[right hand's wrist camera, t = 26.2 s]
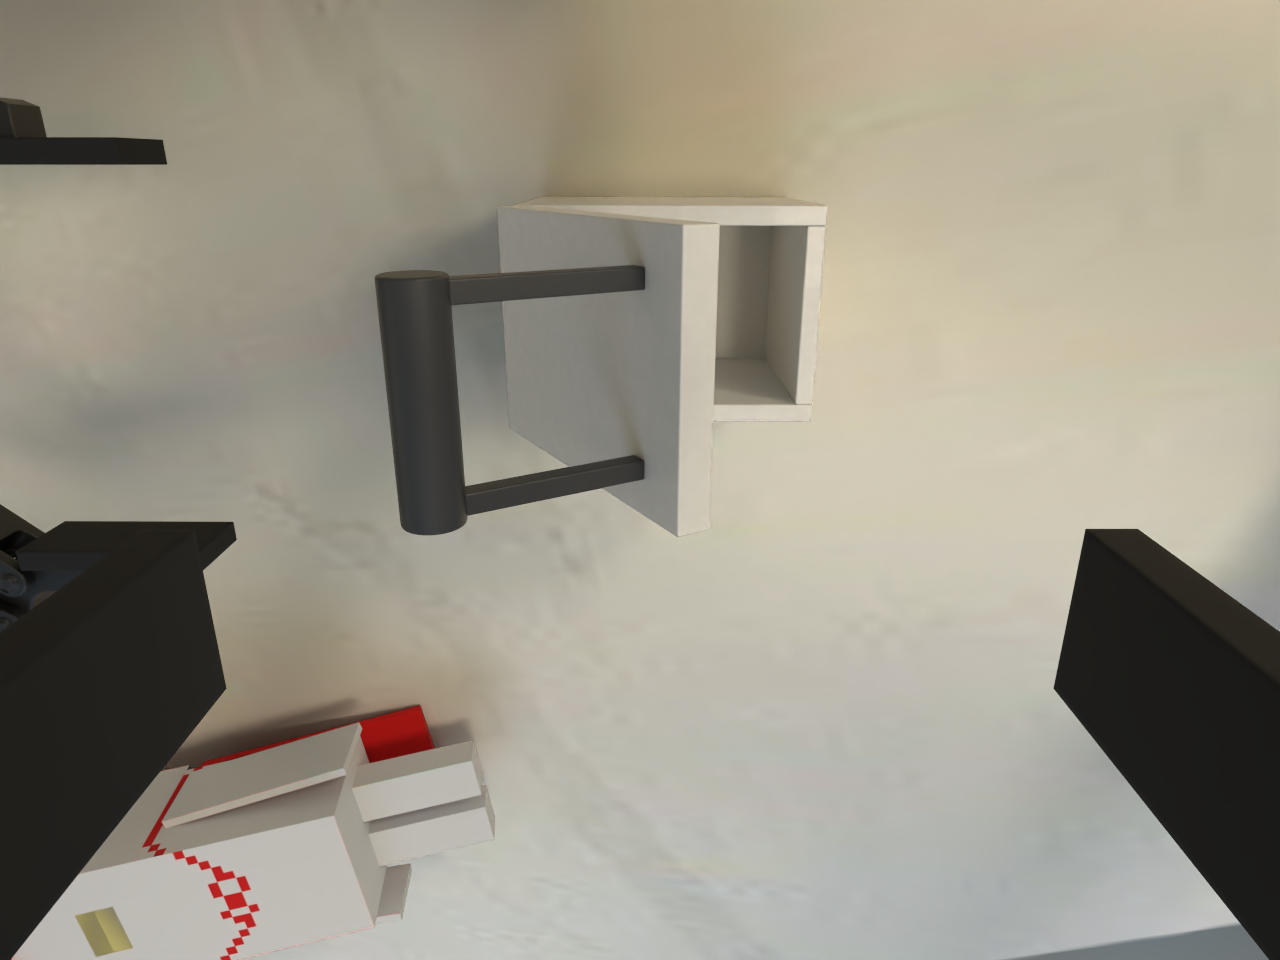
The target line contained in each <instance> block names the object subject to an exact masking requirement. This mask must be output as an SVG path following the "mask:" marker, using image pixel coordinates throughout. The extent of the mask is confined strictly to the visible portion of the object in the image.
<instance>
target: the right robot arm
mask: <svg viewBox="0 0 1280 960" xmlns="http://www.w3.org/2000/svg"><path fill="white" fill-rule="evenodd" d="M225 689H226V684H225V679H224V675H223V670H222V665H221V660H220V655H219V650H218V645H217V640H216V635H215V630H214V625H213V620H212V615H211V610H210V605H209V600H208V595H207V590H206V585H205V580H204V575H203V570H202V565H201V560H200V555H199V550H198V545H197V540H196V535H195V530H194V529H142V530H140V531H139V532H137V533H136V534H135V535H133V536H132V537H131V538H129V539H128V540H126V541H125V542H124V543H122V544H121V545H120V546H118V547H117V548H115V549H114V550H113V551H111V552H110V553H109V554H107V555H106V556H104V557H103V558H102V559H100V560H99V561H97V562H96V563H95V564H93V565H92V566H91V567H89V568H88V569H86V570H85V571H84V572H82V573H81V574H80V575H78V576H77V577H75V578H74V579H73V580H71V581H70V582H69V583H67V584H66V585H64V586H63V587H62V588H60V589H59V590H58V591H56V592H55V593H53V594H52V595H51V596H49V597H48V598H46V599H45V600H44V601H42V602H41V603H40V604H38V605H37V606H35V607H34V608H33V609H31V610H30V611H29V612H27V613H26V614H24V615H23V616H22V617H20V618H19V619H18V620H16V621H15V622H13V623H12V624H11V625H9V626H8V627H6V628H5V629H4V630H2V631H1V632H0V960H11V959H12V957H13V956H14V955H15V954H16V952H17V951H18V950H19V949H20V947H21V946H22V945H23V944H24V942H25V941H26V940H27V939H28V937H29V936H30V935H31V934H32V932H33V931H34V930H35V928H36V927H37V926H38V925H39V923H40V922H41V921H42V920H43V918H44V917H45V916H46V915H47V913H48V912H49V911H50V910H51V908H52V907H53V906H54V905H55V903H56V902H57V901H58V900H59V898H60V897H61V896H62V895H63V893H64V892H65V891H66V889H67V888H68V887H69V886H70V884H71V883H72V882H73V881H74V879H75V878H76V877H77V876H78V874H79V873H80V872H81V871H82V869H83V868H84V867H85V866H86V864H87V863H88V862H89V861H90V859H91V858H92V857H93V856H94V854H95V853H96V852H97V850H98V849H99V848H100V847H101V845H102V844H103V843H104V842H105V840H106V839H107V838H108V837H109V835H110V834H111V833H112V832H113V830H114V829H115V828H116V827H117V825H118V824H119V823H120V822H121V820H122V819H123V818H124V817H125V815H126V814H127V813H128V811H129V810H130V809H131V808H132V806H133V805H134V804H135V803H136V801H137V800H138V799H139V798H140V796H141V795H142V794H143V793H144V791H145V790H146V789H147V788H148V786H149V785H150V784H151V783H152V781H153V780H154V779H155V778H156V776H157V775H158V774H159V772H160V771H161V770H162V769H163V767H164V766H165V765H166V764H167V762H168V761H169V760H170V759H171V757H172V756H173V755H174V754H175V752H176V751H177V750H178V749H179V747H180V746H181V745H182V744H183V742H184V741H185V740H186V739H187V737H188V736H189V735H190V734H191V732H192V731H193V730H194V728H195V727H196V726H197V725H198V723H199V722H200V721H201V720H202V718H203V717H204V716H205V715H206V713H207V712H208V711H209V710H210V708H211V707H212V706H213V705H214V703H215V702H216V701H217V700H218V698H219V697H220V696H221V695H222V693H223V692H224V691H225ZM1054 689H1055V691H1056V692H1057V693H1058V695H1059V696H1060V697H1061V698H1062V700H1063V701H1064V702H1065V703H1066V705H1067V706H1068V707H1069V708H1070V710H1071V711H1072V712H1073V713H1074V715H1075V716H1076V717H1077V718H1078V720H1079V721H1080V722H1081V723H1082V725H1083V726H1084V727H1085V728H1086V730H1087V731H1088V732H1089V734H1090V735H1091V736H1092V737H1093V739H1094V740H1095V741H1096V742H1097V744H1098V745H1099V746H1100V747H1101V749H1102V750H1103V751H1104V752H1105V754H1106V755H1107V756H1108V757H1109V759H1110V760H1111V761H1112V762H1113V764H1114V765H1115V766H1116V767H1117V769H1118V770H1119V771H1120V772H1121V774H1122V775H1123V776H1124V778H1125V779H1126V780H1127V781H1128V783H1129V784H1130V785H1131V786H1132V788H1133V789H1134V790H1135V791H1136V793H1137V794H1138V795H1139V796H1140V798H1141V799H1142V800H1143V801H1144V803H1145V804H1146V805H1147V806H1148V808H1149V809H1150V810H1151V811H1152V813H1153V814H1154V815H1155V817H1156V818H1157V819H1158V820H1159V822H1160V823H1161V824H1162V825H1163V827H1164V828H1165V829H1166V830H1167V832H1168V833H1169V834H1170V835H1171V837H1172V838H1173V839H1174V840H1175V842H1176V843H1177V844H1178V845H1179V847H1180V848H1181V849H1182V850H1183V852H1184V853H1185V854H1186V856H1187V857H1188V858H1189V859H1190V861H1191V862H1192V863H1193V864H1194V866H1195V867H1196V868H1197V869H1198V871H1199V872H1200V873H1201V874H1202V876H1203V877H1204V878H1205V879H1206V881H1207V882H1208V883H1209V884H1210V886H1211V887H1212V888H1213V889H1214V891H1215V892H1216V893H1217V895H1218V896H1219V897H1220V898H1221V900H1222V901H1223V902H1224V903H1225V905H1226V906H1227V907H1228V908H1229V910H1230V911H1231V912H1232V913H1233V915H1234V916H1235V917H1236V918H1237V920H1238V921H1239V922H1240V923H1241V925H1242V926H1243V927H1244V928H1245V930H1246V931H1247V932H1248V933H1249V935H1250V936H1251V937H1252V939H1253V940H1254V941H1255V942H1256V944H1257V945H1258V946H1259V947H1260V949H1261V950H1262V951H1263V952H1264V954H1265V955H1266V956H1267V957H1268V959H1269V960H1280V632H1279V631H1278V630H1276V629H1275V628H1274V627H1272V626H1271V625H1269V624H1268V623H1267V622H1265V621H1264V620H1262V619H1261V618H1260V617H1258V616H1257V615H1256V614H1254V613H1253V612H1251V611H1250V610H1249V609H1247V608H1246V607H1245V606H1243V605H1242V604H1240V603H1239V602H1238V601H1236V600H1235V599H1234V598H1232V597H1231V596H1229V595H1228V594H1227V593H1225V592H1224V591H1222V590H1221V589H1220V588H1218V587H1217V586H1216V585H1214V584H1213V583H1211V582H1210V581H1209V580H1207V579H1206V578H1205V577H1203V576H1202V575H1200V574H1199V573H1198V572H1196V571H1195V570H1194V569H1192V568H1191V567H1189V566H1188V565H1187V564H1185V563H1184V562H1183V561H1181V560H1180V559H1178V558H1177V557H1176V556H1174V555H1173V554H1171V553H1170V552H1169V551H1167V550H1166V549H1165V548H1163V547H1162V546H1160V545H1159V544H1158V543H1156V542H1155V541H1154V540H1152V539H1151V538H1149V537H1148V536H1147V535H1145V534H1144V533H1143V532H1141V531H1140V530H1138V529H1086V530H1085V535H1084V540H1083V545H1082V550H1081V555H1080V560H1079V565H1078V570H1077V575H1076V580H1075V585H1074V590H1073V595H1072V600H1071V605H1070V610H1069V615H1068V620H1067V625H1066V630H1065V635H1064V640H1063V645H1062V650H1061V655H1060V660H1059V665H1058V670H1057V675H1056V679H1055V684H1054Z"/></svg>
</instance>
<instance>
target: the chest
mask: <svg viewBox="0 0 1280 960" xmlns="http://www.w3.org/2000/svg"><path fill="white" fill-rule="evenodd" d="M524 205H525V206H536V207H547V208H558V209H568V210H579V211H590V212H601V213H612V214H623V215H634V216H645V217H656V218H667V219H678V220H689V221H700V222H710V223H718V224H719V225H720V231H719V261H718V292H717V322H716V353H715V383H714V414H713V422H810V421H812V410H813V405H812V403H813V396H814V383H815V370H816V356H817V343H818V330H819V317H820V303H821V290H822V277H823V263H824V250H825V237H826V225H827V212H828V206H827V205H822V204H817V203H812V202H807V201H802V200H797V199H792V198H786V197H540V198H537V199H533V200H530V201H527V202H523V203H520V204H516V205H514V206H524Z"/></svg>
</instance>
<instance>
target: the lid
mask: <svg viewBox="0 0 1280 960" xmlns="http://www.w3.org/2000/svg"><path fill="white" fill-rule="evenodd" d="M497 214H498V232H499V250H500V268H501V273H494V274H478V275H462V276H449V275H448V274H447V273H445V272H440V271H426V270H413V271H395V272H386V273H381V274H378V275H376V276H375V286H376V296H377V305H378V314H379V324H380V333H381V343H382V352H383V362H384V371H385V380H386V390H387V399H388V409H389V418H390V428H391V437H392V446H393V456H394V465H395V475H396V484H397V494H398V503H399V512H400V522H401V526H402V528H403V529H404V530H405V531H407V532H409V533H412V534H417V535H438V534H444V533H448V532H452V531H455V530H457V529H459V528H461V527H462V526H464V525H465V523H466V521H467V516H468V515H473V514H477V513H482V512H487V511H492V510H497V509H502V508H507V507H512V506H517V505H521V504H526V503H531V502H536V501H541V500H546V499H551V498H556V497H560V496H565V495H570V494H575V493H580V492H585V491H590V490H595V489H600V488H603V489H604V490H606V491H607V492H609V493H610V494H612V495H613V496H615V497H616V498H618V499H619V500H621V501H623V502H624V503H626V504H627V505H629V506H630V507H632V508H633V509H635V510H636V511H638V512H639V513H641V514H643V515H644V516H646V517H647V518H649V519H650V520H652V521H653V522H655V523H656V524H658V525H659V526H661V527H663V528H664V529H666V530H667V531H669V532H670V533H672V534H673V535H675V536H676V537H681V536H685V535H689V534H693V533H697V532H701V531H705V530H709V529H710V505H711V474H712V444H713V414H714V383H715V353H716V322H717V292H718V261H719V231H720V225H719V224H718V223H710V222H700V221H689V220H678V219H667V218H656V217H645V216H634V215H623V214H612V213H601V212H590V211H579V210H568V209H558V208H547V207H536V206H525V205H524V206H497ZM498 301H502V305H503V323H504V341H505V359H506V378H507V396H508V414H509V428H510V429H512V430H513V431H515V432H516V433H518V434H519V435H521V436H523V437H524V438H526V439H527V440H529V441H530V442H532V443H533V444H535V445H536V446H538V447H539V448H541V449H543V450H544V451H546V452H547V453H549V454H550V455H552V456H553V457H555V458H556V459H558V460H559V461H561V462H563V463H564V464H566V465H567V466H569V467H567V468H561V469H556V470H551V471H545V472H540V473H535V474H529V475H524V476H519V477H513V478H508V479H502V480H497V481H492V482H486V483H481V484H476V485H470V486H465V480H464V467H463V454H462V440H461V427H460V414H459V401H458V388H457V375H456V361H455V348H454V335H453V322H452V309H451V305H460V304H473V303H486V302H498Z"/></svg>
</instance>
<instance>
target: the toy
mask: <svg viewBox="0 0 1280 960" xmlns="http://www.w3.org/2000/svg"><path fill="white" fill-rule="evenodd" d="M482 778H483V772H482V769H481V765H480V762H479V758H478V755H477V751H476V748H475V744H474V740H471V741H466V742H462V743H458V744H453V745H449V746H444V747H440V748H434V745H433V742H432V739H431V736H430V733H429V730H428V727H427V724H426V721H425V718H424V715H423V712H422V709H421V706H416V707H413V708H409V709H405V710H401V711H397V712H393V713H390V714H386V715H382V716H378V717H374V718H370V719H367V720H363V721H359V722H355V723H351V724H347V725H343V726H340V727H336V728H332V729H328V730H324V731H320V732H317V733H313V734H309V735H305V736H301V737H297V738H294V739H290V740H286V741H282V742H278V743H274V744H270V745H267V746H263V747H259V748H255V749H251V750H247V751H244V752H240V753H236V754H232V755H228V756H224V757H221V758H217V759H213V760H209V761H205V762H203V763H202V765H201V767H198V768H194V769H191V767H190V765H187V766H182V767H178V768H173V769H169V770H165V771H160V772H159V774H158V775H157V776H156V778H155V779H154V780H153V781H152V783H151V784H150V785H149V786H148V788H147V789H146V790H145V791H144V793H143V794H142V795H141V796H140V798H139V799H138V800H137V801H136V803H135V804H134V805H133V806H132V808H131V809H130V810H129V811H128V813H127V814H126V815H125V817H124V818H123V819H122V820H121V822H120V823H119V824H118V825H117V827H116V828H115V829H114V830H113V832H112V833H111V834H110V835H109V837H108V838H107V839H106V840H105V842H104V843H103V844H102V845H101V847H100V848H99V849H98V850H97V852H96V853H95V854H94V856H93V857H92V858H91V859H90V861H89V862H88V863H87V864H86V866H85V867H84V868H83V869H82V871H81V872H80V873H79V874H78V876H77V877H76V878H75V879H74V881H73V882H72V883H71V884H70V886H69V887H68V888H67V889H66V891H65V892H64V893H63V895H62V896H61V897H60V898H59V900H58V901H57V902H56V903H55V905H54V906H53V907H52V908H51V910H50V911H49V912H48V913H47V915H46V916H45V917H44V918H43V920H42V921H41V922H40V923H39V925H38V926H37V927H36V928H35V930H34V931H33V932H32V934H31V935H30V936H29V937H28V939H27V940H26V941H25V942H24V944H23V945H22V946H21V947H20V949H19V950H18V951H17V952H16V954H15V955H14V956H13V957H12V959H11V960H240V959H245V958H249V957H253V956H257V955H261V954H265V953H270V952H274V951H278V950H282V949H286V948H290V947H295V946H299V945H303V944H307V943H311V942H315V941H319V940H324V939H328V938H332V937H336V936H340V935H344V934H349V933H353V932H357V931H361V930H365V929H369V928H374V927H375V924H380V923H386V922H393V921H399V920H402V916H403V911H404V906H405V901H406V896H407V891H408V886H409V881H410V876H411V871H412V869H411V864H404V865H398V866H391V867H387V865H389V864H393V863H397V862H401V861H406V860H410V859H414V858H418V857H423V856H427V855H431V854H435V853H440V852H444V851H448V850H452V849H457V848H461V847H465V846H469V845H474V844H478V843H482V842H486V841H491V840H494V833H495V815H494V811H493V808H492V804H491V801H490V797H489V794H488V790H487V786H486V785H484V786H482Z"/></svg>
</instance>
